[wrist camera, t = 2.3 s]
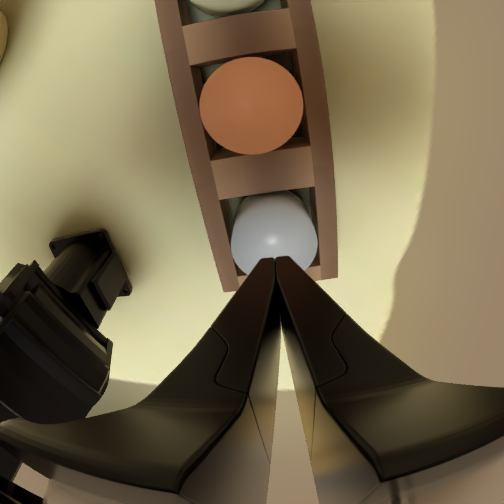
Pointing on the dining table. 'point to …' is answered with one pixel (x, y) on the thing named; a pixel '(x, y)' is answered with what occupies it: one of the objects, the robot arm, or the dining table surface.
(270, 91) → the terracotta button
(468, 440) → the robot arm
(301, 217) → the slate button
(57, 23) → the dining table surface
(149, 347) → the dining table surface
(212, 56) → the brown wooden flat tray
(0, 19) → the plant pot
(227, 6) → the sage button
